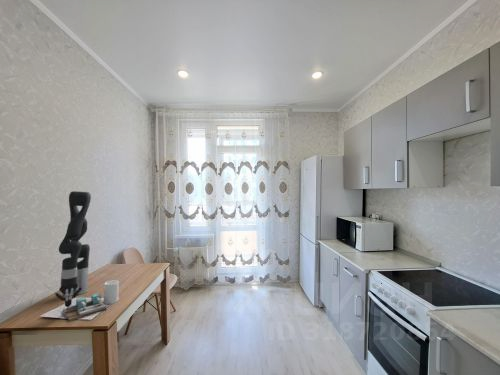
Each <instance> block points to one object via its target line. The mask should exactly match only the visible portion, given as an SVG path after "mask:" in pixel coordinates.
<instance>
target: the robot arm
mask: <svg viewBox="0 0 500 375" xmlns="http://www.w3.org/2000/svg"><path fill="white" fill-rule="evenodd" d="M91 200H92V197H91V193H90V192H89V191H88V192H87V191H71V192H70V193H69V194H68V205H69V214H70V215H69V216H70V220H69V222H68V225H67V229H66V233H65V236H64V238H63V239H62V240H61V242H60V243H59V246H58V252H59V253H60V254H61V255H70V256H68V257H66V258H64V259H63V260H62V261H61V262H62V263H61V264H62V265H61V272H60V287H59V290H58V291H55V292H54V295H55V297H57V298H58V299H60V301H62V302H64V306H65V308H67V307H71V306H72V300H73V299H74V298H76V297H77V296H78V295H83V294H85V293H87V292H88V286H89V265H90V264H89V262H90V261H89V260H90V249H91V248H90V247H91V246H90V244H87V243H86V244H85V243H84V244H82V242H80V240H81V239H82V238H83V237H84V235H85V234H86V233H87V232H88V220H87V219H86V215H87V212H88V210H89V207H90V204H91ZM78 207H81V209H80V210H79V209H78ZM79 259H82V260H80V261H78V260H79ZM61 293H62V295H64V296H62V295H61Z"/></svg>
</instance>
